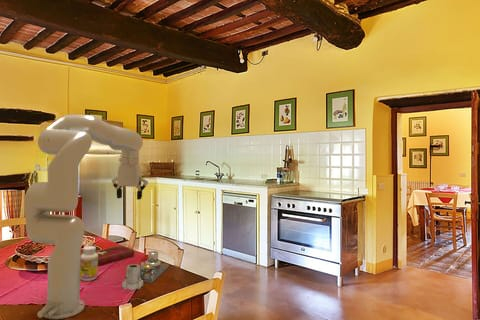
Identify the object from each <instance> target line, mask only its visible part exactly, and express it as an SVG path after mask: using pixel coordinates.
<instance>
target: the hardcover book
mask: <svg viewBox="0 0 480 320" xmlns="http://www.w3.org/2000/svg"><path fill="white" fill-rule="evenodd" d="M135 251H136V250H135V249H134V248H132V247H128V246H125V245H122V244H120V245H115V246H111V247H106V248H103V249H102V248H101V249H98V250H97V249H96V250H95V253H97V254H98V267H100V266H104V265H108V264H112V263H115V262H119V261H123V260H125V259H129V258H133V257H135V255H136V252H135Z"/></svg>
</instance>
